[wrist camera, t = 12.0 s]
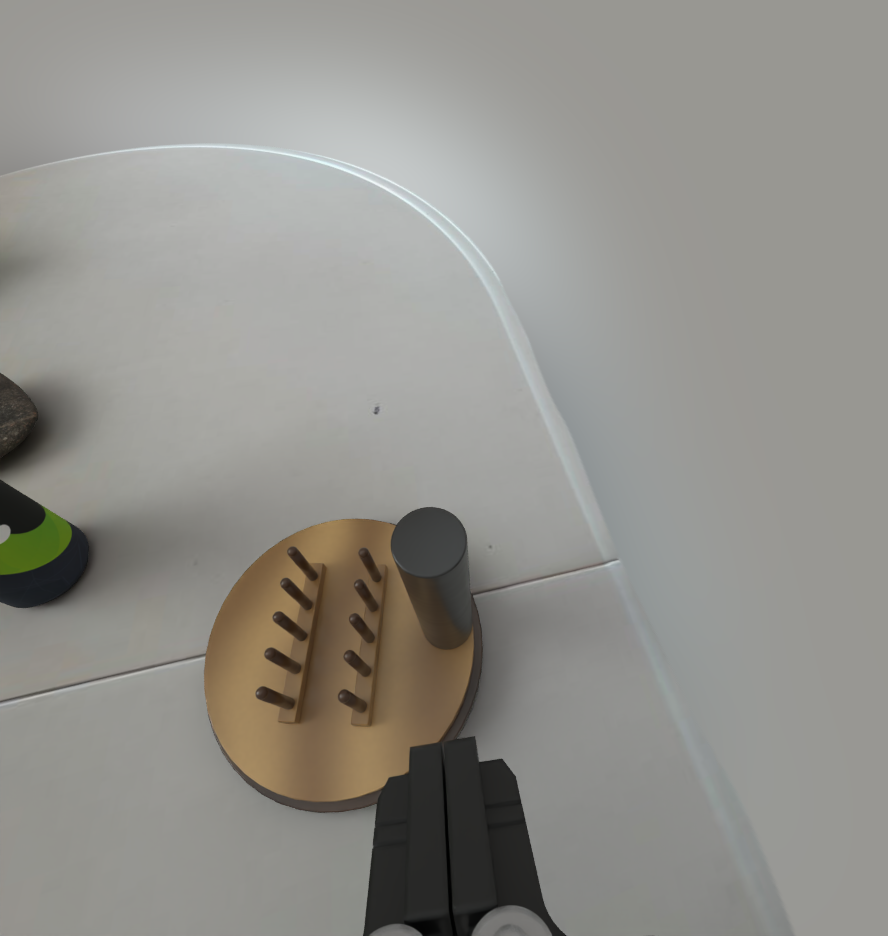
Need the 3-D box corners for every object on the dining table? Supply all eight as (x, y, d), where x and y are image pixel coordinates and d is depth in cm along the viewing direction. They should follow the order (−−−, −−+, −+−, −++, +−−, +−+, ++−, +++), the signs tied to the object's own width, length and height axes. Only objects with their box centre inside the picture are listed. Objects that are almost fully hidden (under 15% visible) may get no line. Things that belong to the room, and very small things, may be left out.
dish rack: (475, 526, 34) (472, 402, 23) (472, 809, 26) (464, 833, 14) (248, 523, 35) (140, 404, 24) (174, 793, 27) (-45, 803, 16)
